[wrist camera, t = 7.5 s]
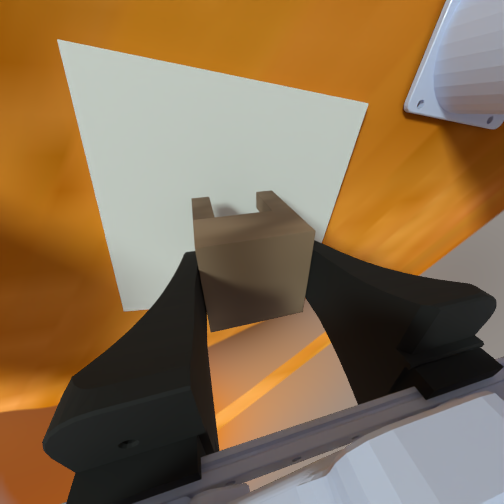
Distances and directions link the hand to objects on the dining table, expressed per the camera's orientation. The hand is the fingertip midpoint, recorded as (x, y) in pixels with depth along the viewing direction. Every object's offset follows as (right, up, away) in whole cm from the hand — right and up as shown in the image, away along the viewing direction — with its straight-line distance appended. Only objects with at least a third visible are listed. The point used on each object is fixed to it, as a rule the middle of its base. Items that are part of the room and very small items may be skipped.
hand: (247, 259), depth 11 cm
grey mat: (-1, +3, +5) cm, 6 cm away
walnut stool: (-1, +2, +3) cm, 3 cm away
